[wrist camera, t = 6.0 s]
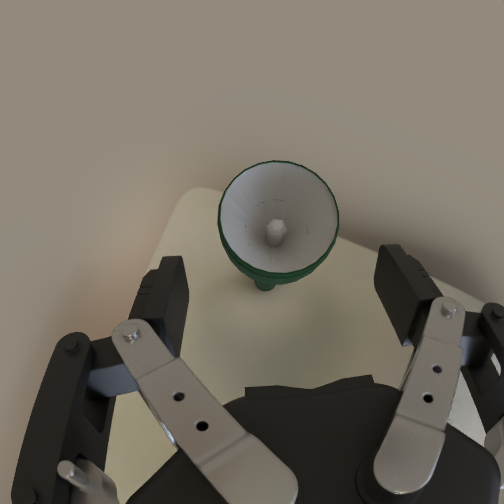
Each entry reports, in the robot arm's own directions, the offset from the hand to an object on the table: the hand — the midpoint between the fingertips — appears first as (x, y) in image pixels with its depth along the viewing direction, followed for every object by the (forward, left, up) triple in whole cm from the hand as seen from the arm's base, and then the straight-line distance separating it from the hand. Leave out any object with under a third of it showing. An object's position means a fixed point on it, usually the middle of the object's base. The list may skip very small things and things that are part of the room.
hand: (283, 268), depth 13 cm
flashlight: (-2, -1, -20) cm, 20 cm away
